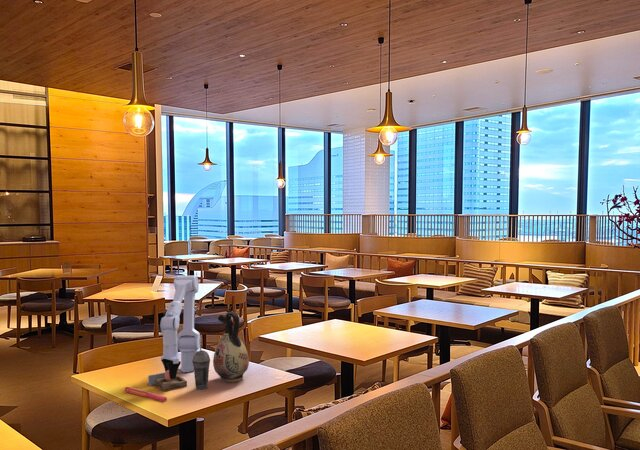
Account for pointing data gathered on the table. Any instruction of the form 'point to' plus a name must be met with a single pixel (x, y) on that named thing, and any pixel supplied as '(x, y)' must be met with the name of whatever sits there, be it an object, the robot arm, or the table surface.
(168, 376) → the ball
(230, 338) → the ceramic jug
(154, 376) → the partition
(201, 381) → the beverage cup
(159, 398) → the pink long bar
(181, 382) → the tray
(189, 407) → the table surface
